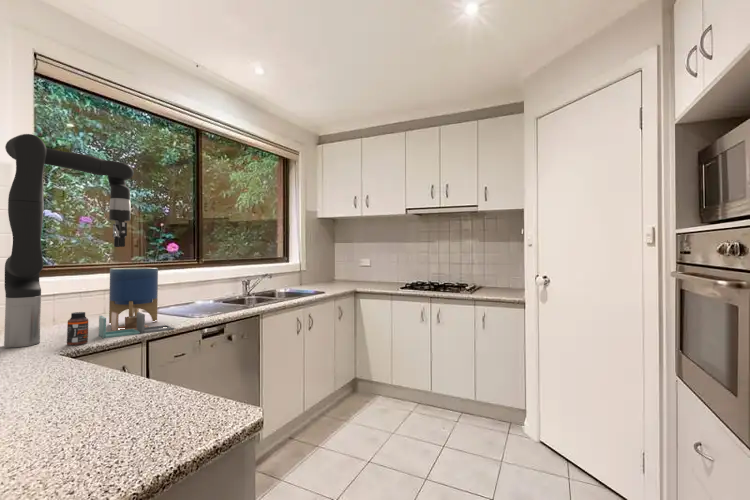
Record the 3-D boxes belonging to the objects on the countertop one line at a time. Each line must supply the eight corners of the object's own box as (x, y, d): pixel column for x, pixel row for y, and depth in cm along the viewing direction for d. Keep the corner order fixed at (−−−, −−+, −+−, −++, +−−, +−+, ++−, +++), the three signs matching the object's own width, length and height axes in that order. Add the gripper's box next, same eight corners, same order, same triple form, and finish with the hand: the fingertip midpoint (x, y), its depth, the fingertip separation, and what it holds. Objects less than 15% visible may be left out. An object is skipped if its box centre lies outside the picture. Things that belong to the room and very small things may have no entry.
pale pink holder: (115, 333, 152) (116, 313, 152) (111, 330, 158) (111, 311, 158) (148, 329, 160) (149, 310, 161) (143, 326, 167) (143, 308, 167)
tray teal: (103, 339, 140) (103, 318, 140) (98, 335, 146) (99, 315, 147) (139, 334, 149) (139, 314, 149) (133, 331, 155) (134, 312, 155)
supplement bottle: (78, 345, 130) (79, 313, 130) (62, 345, 130) (62, 313, 130) (92, 342, 136) (92, 311, 136) (76, 342, 136) (76, 311, 136)
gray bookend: (142, 334, 149) (142, 314, 150) (136, 331, 156) (136, 312, 156) (174, 330, 158) (174, 311, 158) (167, 327, 164) (167, 309, 165)
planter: (104, 328, 162) (105, 269, 162) (113, 321, 179) (114, 268, 180) (154, 325, 170) (155, 268, 171) (159, 319, 187) (159, 267, 188)
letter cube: (127, 330, 156) (127, 317, 156) (124, 328, 160) (124, 316, 160) (141, 328, 160) (141, 316, 160) (138, 326, 163) (138, 315, 163)
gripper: (106, 210, 162) (105, 247, 161) (113, 207, 152) (112, 246, 151) (126, 212, 167) (125, 247, 167) (134, 209, 157) (133, 246, 157)
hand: (119, 246), depth 159 cm, fingers open, 8 cm apart
